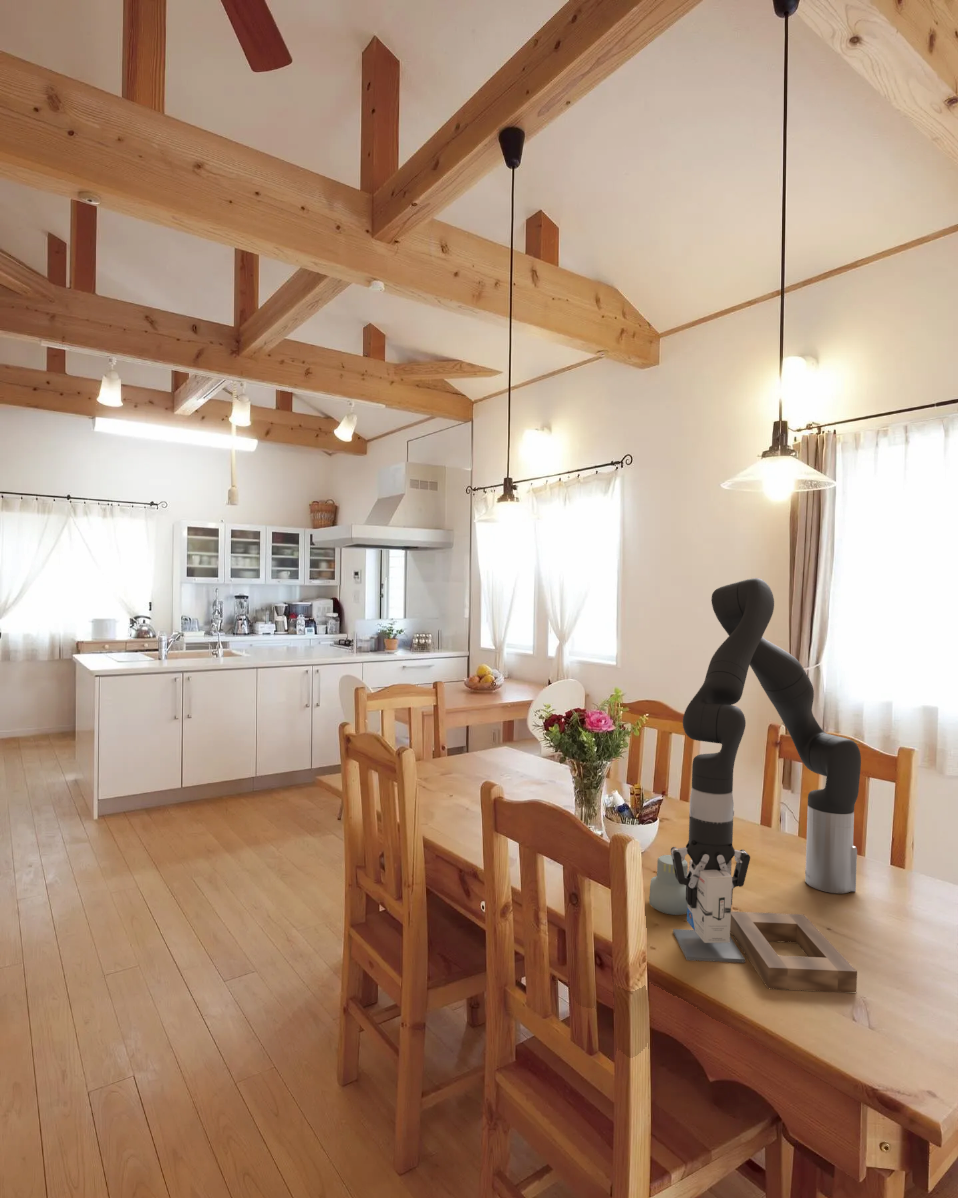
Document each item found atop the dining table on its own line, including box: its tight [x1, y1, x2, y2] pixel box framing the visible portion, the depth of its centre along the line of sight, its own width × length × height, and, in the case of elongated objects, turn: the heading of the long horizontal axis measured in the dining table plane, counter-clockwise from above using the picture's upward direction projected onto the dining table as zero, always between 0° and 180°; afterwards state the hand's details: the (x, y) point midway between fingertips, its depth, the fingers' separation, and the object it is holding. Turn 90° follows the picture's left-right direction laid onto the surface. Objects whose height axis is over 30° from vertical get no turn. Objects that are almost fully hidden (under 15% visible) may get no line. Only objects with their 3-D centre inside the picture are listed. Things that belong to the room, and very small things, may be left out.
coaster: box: [672, 928, 746, 964], centre depth 127 cm, size 10×10×1 cm
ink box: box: [686, 859, 733, 943], centre depth 127 cm, size 9×5×12 cm, turn 5°
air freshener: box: [648, 854, 689, 916], centre depth 142 cm, size 11×8×10 cm
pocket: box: [730, 910, 858, 993], centre depth 123 cm, size 14×20×4 cm
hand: (708, 907), depth 127 cm, fingers closed on ink box, 5 cm apart
